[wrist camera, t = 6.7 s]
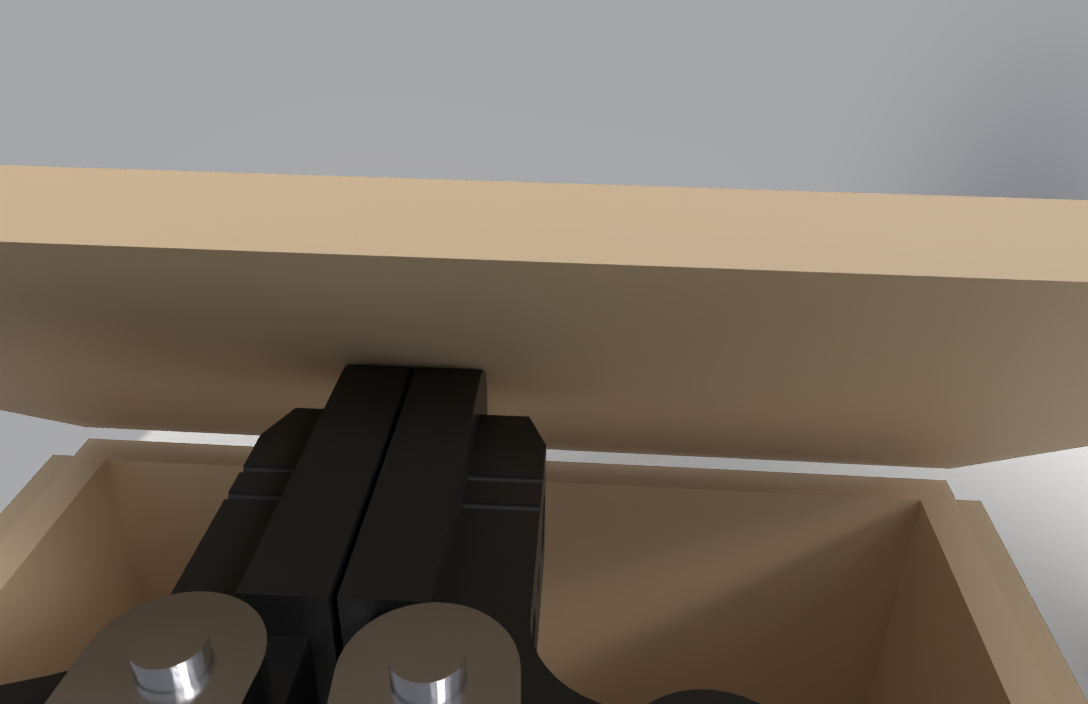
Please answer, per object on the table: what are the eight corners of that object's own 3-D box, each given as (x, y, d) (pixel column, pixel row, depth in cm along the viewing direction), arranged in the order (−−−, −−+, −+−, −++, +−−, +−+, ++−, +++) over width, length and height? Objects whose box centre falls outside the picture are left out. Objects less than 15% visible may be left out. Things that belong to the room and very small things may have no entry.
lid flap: (949, 468, 19) (948, 443, 19) (1902, 312, 5) (1882, 226, 5) (85, 426, 20) (88, 403, 20) (-1029, 203, 6) (-1001, 133, 6)
